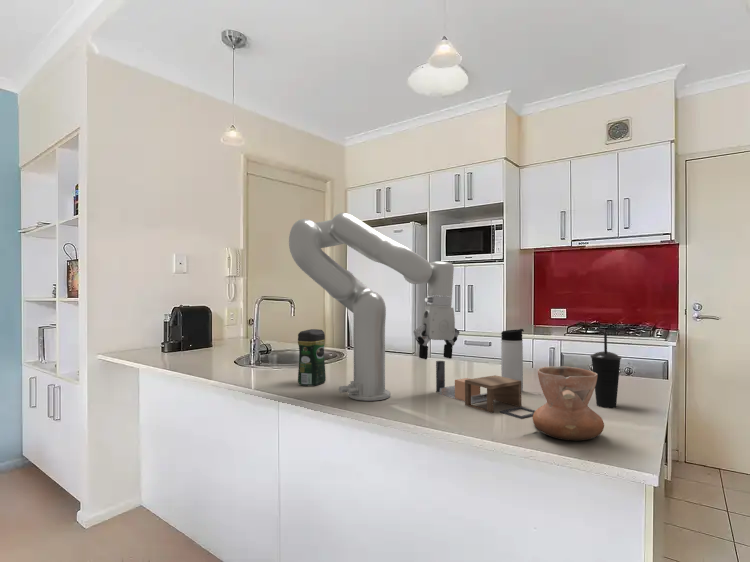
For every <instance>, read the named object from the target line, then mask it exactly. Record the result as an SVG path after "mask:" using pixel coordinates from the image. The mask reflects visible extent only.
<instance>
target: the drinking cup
mask: <svg viewBox="0 0 750 562" xmlns="http://www.w3.org/2000/svg"><path fill="white" fill-rule="evenodd" d="M603 344H604V345H603V351H598V352H595V353H593V354H590V358H591V365H592V372H595V373H597V375H598V376H597V382H596V386H595V389H594V392H595V402H596V406H598V405H599V406H598V407H600V406H602V407H601V408H605V407H609V408H608V409H610V408H611V409H614V408H613V407H615V408H617V400H618V389H619V379H620V378H619V377H620V368H621V367H620V366H621V360H622V356H620V355H619V354H616V353H614V352H610V351H608V333H607V332H604V333H603Z"/></svg>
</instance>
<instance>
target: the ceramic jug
mask: <svg viewBox="0 0 750 562" xmlns="http://www.w3.org/2000/svg"><path fill="white" fill-rule="evenodd" d="M597 376H598V375H597V373H595V372H593V370H589V369H585V368H582V367H572V366H566V365H565V366H564V365H560V366H559V365H558V366H555V365H554V366H553V365H551V366H544V367H539V368H538V369H537V377H538V381H539V385H540V388H541V390H542V393H543V396H544V397H545V400H546V403H544V404H543V405H541V406H540V407H538V408H536V410H535V412H534V414H533V416H532V422H533V424H534V426H535V428H537V429H538V431H540V432H541V433H542V434H544V435H546V436H549V437H551V438H555V439H558V440H563V441H571V442H572V441H587V440H591V439H594V438H596V437H597V438H598V436H600V435H601V434H602V433H603V431H604V429H605V423H604V420H603V418H602V417H601V416H600V415H599V414H598V413H597V412H596V411H594V410H592V409H591V407H589V406H588V405H589V403H590V401H591V399H592V396H593V394H594V392H595V386H596V382H597Z"/></svg>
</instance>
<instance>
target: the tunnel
mask: <svg viewBox="0 0 750 562" xmlns="http://www.w3.org/2000/svg"><path fill="white" fill-rule="evenodd" d="M471 385H475V386H480V388H485V389H486V393H487V401H486V408H484V407H481V406H477V405H475V404H471ZM494 401H497V402H501V403H505V404H508V405H512V406H515V407H523V406H522V403H523V402H522V392H521V381H520V380H515V379H510V378H506V377H502V375H497V374H495V375H489V376H481V377H477V378H470V379H468V380H465V402H464V405H465V406H467V407H471V408H475V409H477V410H481V411H484V412H487V413H491V414H492V413H494V411H495V410H494Z"/></svg>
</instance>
